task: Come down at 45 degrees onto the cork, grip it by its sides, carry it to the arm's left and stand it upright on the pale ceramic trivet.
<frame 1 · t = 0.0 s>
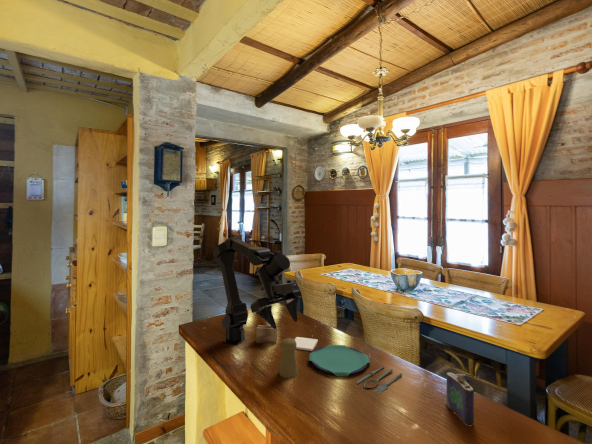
hand: (286, 325, 103), 15 cm above the breakfast bar, tool tilted 35°, fingers open, 9 cm apart
cork: (288, 373, 101), on the breakfast bar
flask: (459, 415, 80), on the breakfast bar
trivet: (304, 344, 122), on the breakfast bar
cutlery set: (350, 369, 104), on the breakfast bar
napkin holder: (267, 341, 125), on the breakfast bar
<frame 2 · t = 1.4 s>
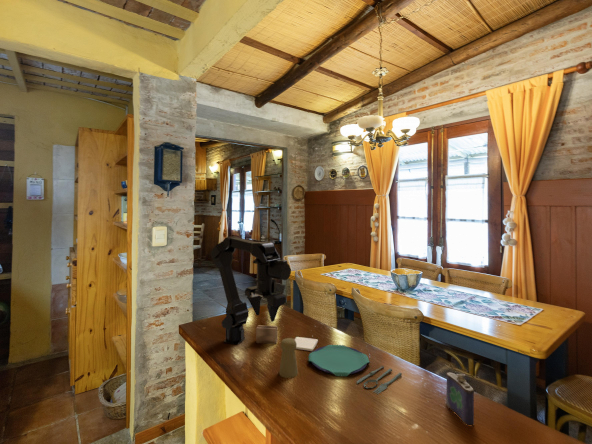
hand: (265, 318, 115), 13 cm above the breakfast bar, tool pointing down, fingers open, 9 cm apart
nothing on the breakfast bar moved.
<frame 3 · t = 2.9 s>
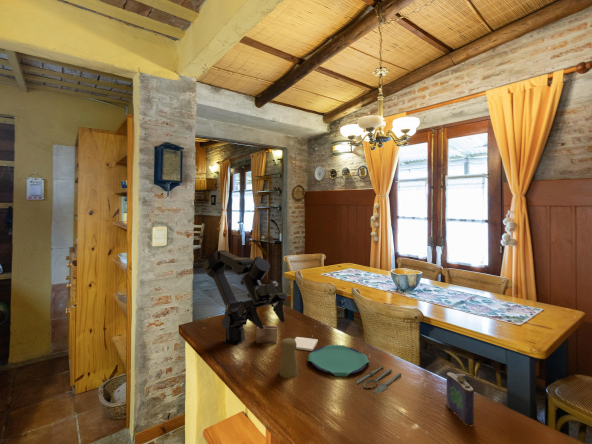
hand: (273, 325, 106), 13 cm above the breakfast bar, tool tilted 45°, fingers open, 9 cm apart
nothing on the breakfast bar moved.
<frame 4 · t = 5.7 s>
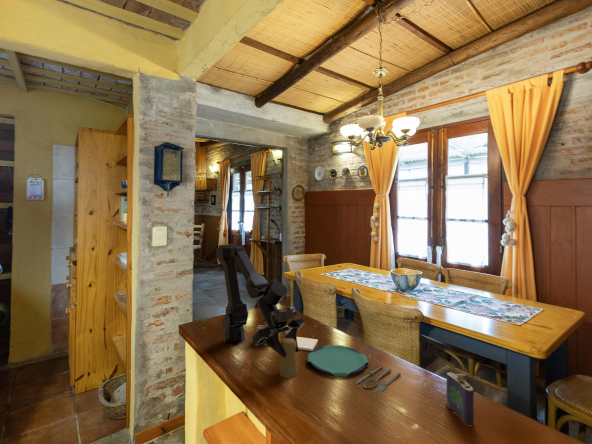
hand: (291, 354, 99), 7 cm above the breakfast bar, tool tilted 45°, fingers closed on cork, 5 cm apart
cork: (288, 373, 101), on the breakfast bar, touching gripper
everything else where it was.
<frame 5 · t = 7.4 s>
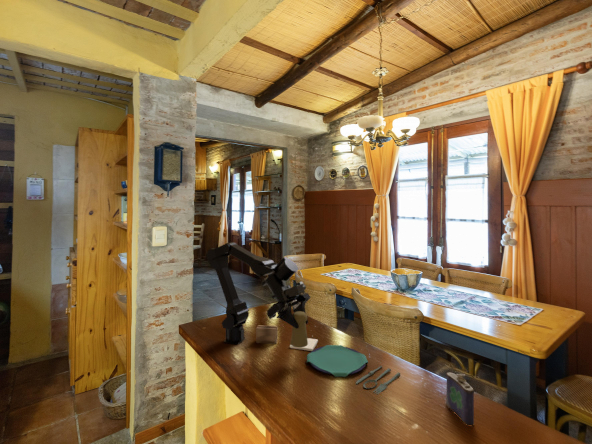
hand: (302, 325, 107), 13 cm above the breakfast bar, tool tilted 45°, fingers closed on cork, 5 cm apart
cork: (299, 344, 108), point 6 cm above the breakfast bar, touching gripper
everything else where it was.
when the fingers open (8 cm above the breakfast bar, at t = 9.5 s): cork stays where it is, resting on trivet.
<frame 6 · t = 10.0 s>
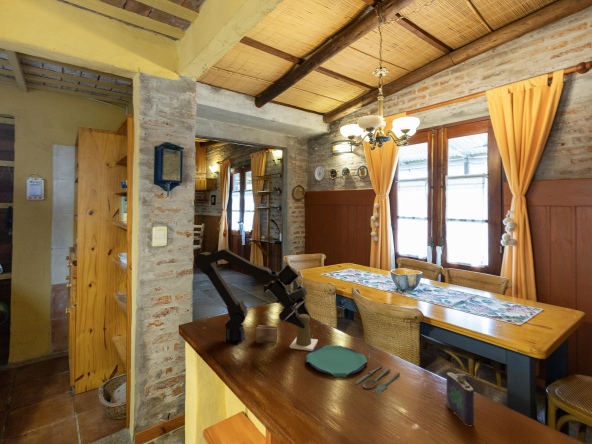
hand: (307, 323, 121), 9 cm above the breakfast bar, tool tilted 45°, fingers open, 9 cm apart
cork: (303, 343, 122), point 1 cm above the breakfast bar, touching trivet
everything else where it was.
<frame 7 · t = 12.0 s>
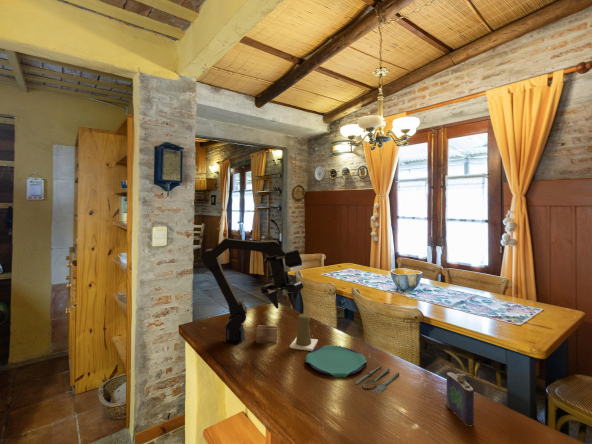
hand: (285, 308, 126), 13 cm above the breakfast bar, tool pointing down, fingers open, 9 cm apart
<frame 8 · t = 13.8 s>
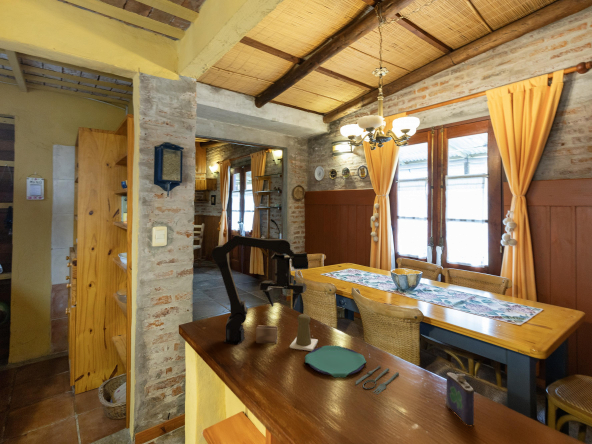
hand: (282, 307, 127), 13 cm above the breakfast bar, tool pointing down, fingers open, 9 cm apart
at the end: cork inside the target area on the trivet (0.2 cm from its centre), point 0.6 cm above the trivet's base; cork tilted 0°; the gripper is holding nothing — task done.
